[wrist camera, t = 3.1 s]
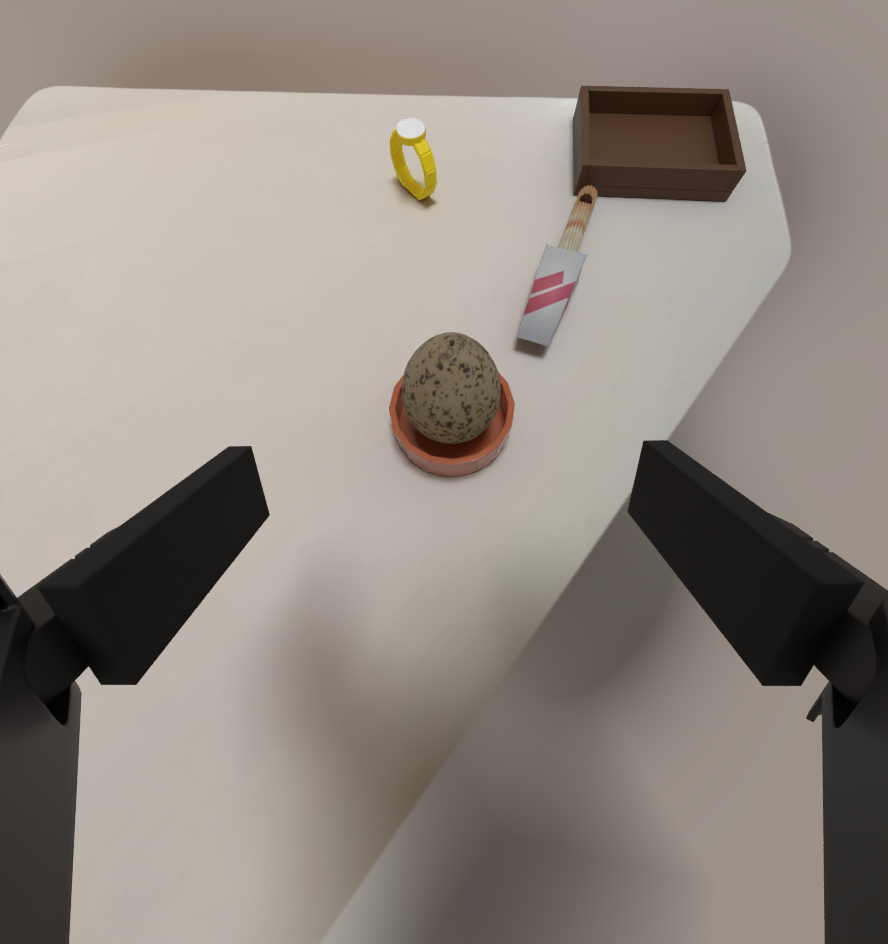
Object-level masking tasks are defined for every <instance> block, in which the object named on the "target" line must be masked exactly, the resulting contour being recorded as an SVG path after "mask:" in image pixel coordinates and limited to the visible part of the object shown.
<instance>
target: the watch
mask: <svg viewBox="0 0 888 944" xmlns="http://www.w3.org/2000/svg"><path fill="white" fill-rule="evenodd" d="M425 136H426V129H425V125H424V123H423V122H422V121H420V120H418V119H415V118H409V119H405V120H402V121H401V122H399V123H398V125H397V128H396V129H395V130H394V131H393V132H392V135H391V138H390V152H391V158H392V161H393V165H394V169H395V170H396V174H397V176H398V178H399V180H400V182H401V184H402V186H404V187H405V188H407V189H408V190H409V191H410V192H411V193H412V194H413V195H414V196H415V197H416V198H417V199H418V200H421V199H424V198H426V197H427V196H429V195H430V194H432V193H433V192H434V190H435V187H436V182H437V176H436V165H435V162H434V158H433V155H432V152H431V149H430V147H429V145H428V143H427V141H426V139H425ZM402 144H404V145H407V146H413V147H414V149H415V151H416V153H417V155H418V156H419V159H420V162H421V165H422V169H423V172H424V180H425V188H423V187H422V186H421V185H420V184H419V183H417V182H416V181H415V180H414V179H413V178H412V176H411V174H410V172H409V170H408V167H407V165H406V162H405V158H404V154H403V151H402Z"/></svg>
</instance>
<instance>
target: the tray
mask: <svg viewBox="0 0 888 944" xmlns="http://www.w3.org/2000/svg"><path fill="white" fill-rule="evenodd" d="M573 139H574V195H578V194H579V192H580V191H581V189H582V188H584V187H585V186H586V187H587V186H588V185H589V186H591V185H592V186H593V187H595V189H596V190H597V193H598V195H597V196H610V197H634V198H658V199H682V200H705V201H726V200H727V199H728V197H729V196H730V194H731V193H732V191H733V190H734V188H735V187H736V185H737V184H738V182H739V181H740V179H741V178H742V176H743V175H744V174H745V172H746V167H745V162H744V157H743V153H742V148H741V143H740V139H739V134H738V129H737V125H736V120H735V115H734V111H733V106H732V102H731V97H730V92H729V90H727V89H722V90H721V89H691V88H649V87H609V86H589V87H588V86H581V89H580V93H579V97H578V101H577V105H576V109H575V113H574V117H573Z"/></svg>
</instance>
